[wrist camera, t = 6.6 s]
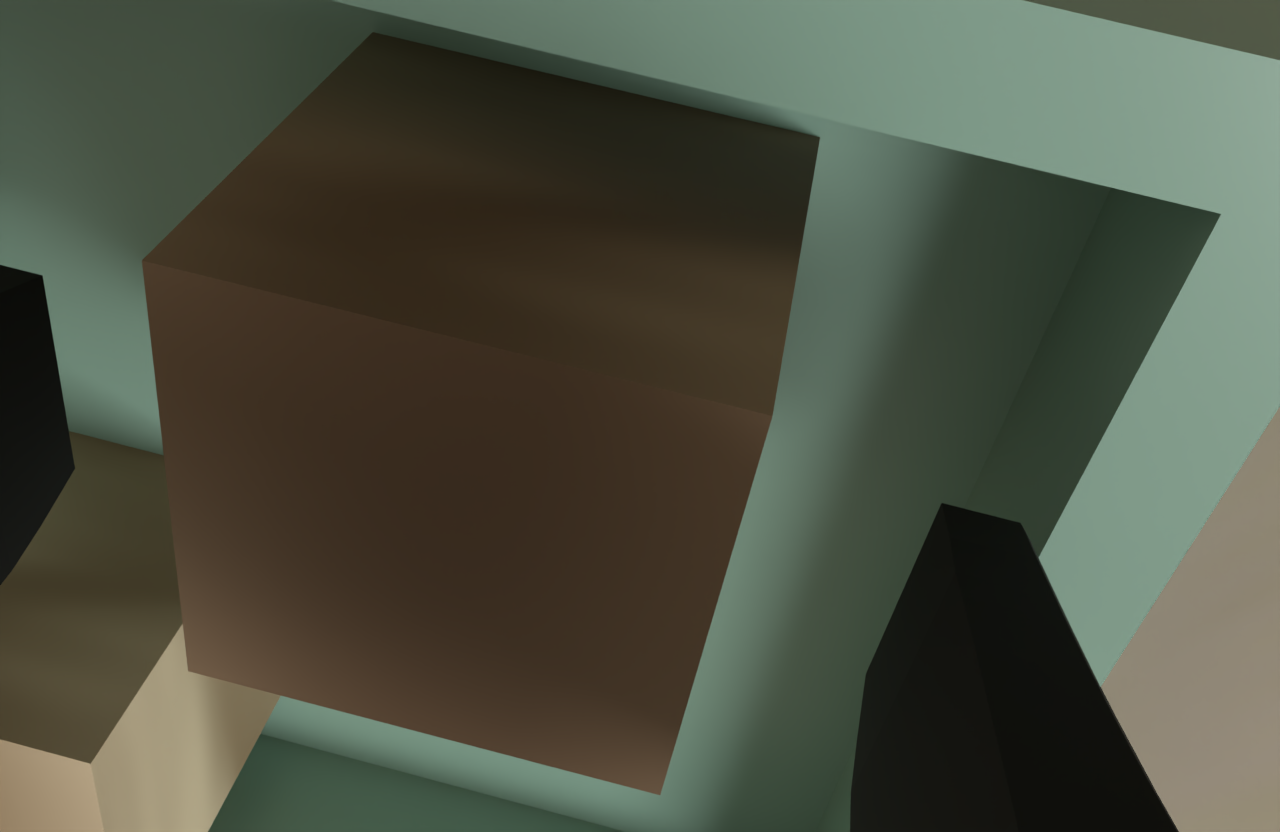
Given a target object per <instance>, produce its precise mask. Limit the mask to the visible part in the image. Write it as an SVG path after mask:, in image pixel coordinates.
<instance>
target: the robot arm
mask: <svg viewBox="0 0 1280 832" xmlns="http://www.w3.org/2000/svg"><path fill="white" fill-rule="evenodd" d="M74 470H75V465H74V459H73V453H72V447H71V441H70V435H69V429H68V423H67V417H66V411H65V406H64V400H63V394H62V388H61V382H60V376H59V370H58V364H57V358H56V352H55V346H54V340H53V334H52V328H51V322H50V316H49V310H48V304H47V299H46V293H45V287H44V281H43V275H39V274H35V273H31V272H27V271H23V270H19V269H15V268H11V267H7V266H3V265H0V585H1V584H2V583H3V581H4V580H5V579H6V578H7V576H8V575H9V574H10V573H11V571H12V570H13V568H14V567H15V565H16V564H17V562H18V561H19V559H20V558H21V556H22V555H23V553H24V551H25V550H26V548H27V547H28V545H29V544H30V542H31V541H32V539H33V538H34V536H35V534H36V533H37V531H38V530H39V528H40V527H41V525H42V524H43V522H44V520H45V518H46V517H47V515H48V513H49V512H50V510H51V508H52V507H53V505H54V503H55V502H56V500H57V498H58V497H59V495H60V493H61V492H62V490H63V488H64V486H65V485H66V483H67V481H68V480H69V478H70V476H71V475H72V473H73V471H74ZM850 832H1179V831H1178V830H1177V828H1176V826H1175V824H1174V823H1173V821H1172V819H1171V817H1170V816H1169V814H1168V812H1167V810H1166V809H1165V807H1164V805H1163V803H1162V801H1161V800H1160V798H1159V796H1158V794H1157V793H1156V791H1155V789H1154V787H1153V785H1152V783H1151V781H1150V780H1149V778H1148V776H1147V774H1146V772H1145V770H1144V768H1143V767H1142V765H1141V763H1140V761H1139V759H1138V757H1137V755H1136V753H1135V752H1134V750H1133V748H1132V746H1131V744H1130V742H1129V740H1128V739H1127V737H1126V735H1125V733H1124V731H1123V729H1122V727H1121V725H1120V724H1119V722H1118V720H1117V718H1116V716H1115V714H1114V712H1113V710H1112V708H1111V706H1110V705H1109V703H1108V701H1107V699H1106V697H1105V695H1104V693H1103V691H1102V689H1101V687H1100V685H1099V683H1098V681H1097V679H1096V677H1095V675H1094V673H1093V671H1092V669H1091V667H1090V665H1089V663H1088V661H1087V659H1086V657H1085V654H1084V652H1083V650H1082V648H1081V646H1080V644H1079V642H1078V640H1077V638H1076V636H1075V634H1074V632H1073V630H1072V628H1071V626H1070V624H1069V621H1068V619H1067V617H1066V615H1065V613H1064V611H1063V609H1062V607H1061V605H1060V603H1059V600H1058V598H1057V596H1056V594H1055V592H1054V590H1053V588H1052V586H1051V583H1050V581H1049V579H1048V577H1047V575H1046V573H1045V571H1044V568H1043V566H1042V564H1041V562H1040V560H1039V558H1038V556H1037V554H1036V551H1035V549H1034V547H1033V545H1032V543H1031V541H1030V539H1029V537H1028V535H1027V533H1026V531H1025V530H1024V528H1023V526H1022V524H1021V523H1019V522H1016V521H1012V520H1008V519H1004V518H1000V517H996V516H992V515H988V514H984V513H980V512H976V511H972V510H968V509H964V508H960V507H956V506H952V505H948V504H944V503H941V505H940V507H939V510H938V512H937V514H936V516H935V519H934V521H933V523H932V525H931V528H930V530H929V532H928V535H927V537H926V539H925V541H924V544H923V546H922V548H921V550H920V553H919V555H918V557H917V559H916V562H915V564H914V566H913V568H912V571H911V573H910V575H909V577H908V580H907V582H906V584H905V587H904V589H903V591H902V593H901V596H900V598H899V600H898V602H897V605H896V607H895V609H894V611H893V614H892V616H891V618H890V620H889V623H888V625H887V627H886V629H885V632H884V634H883V636H882V639H881V641H880V643H879V645H878V648H877V650H876V652H875V654H874V657H873V659H872V661H871V663H870V666H869V668H868V670H867V672H866V676H865V683H864V691H863V698H862V706H861V713H860V721H859V728H858V735H857V743H856V752H855V760H854V769H853V777H852V786H851V804H850Z"/></svg>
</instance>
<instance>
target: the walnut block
mask: <svg viewBox="0 0 1280 832" xmlns="http://www.w3.org/2000/svg"><path fill="white" fill-rule="evenodd" d="M819 141H820V137H817V136H813V135H809V134H805V133H800V132H796V131H792V130H788V129H783V128H779V127H775V126H771V125H766V124H762V123H758V122H754V121H749V120H745V119H741V118H737V117H732V116H728V115H724V114H720V113H715V112H711V111H707V110H703V109H698V108H694V107H690V106H686V105H681V104H677V103H673V102H669V101H664V100H660V99H656V98H651V97H647V96H643V95H639V94H634V93H630V92H626V91H622V90H617V89H613V88H609V87H605V86H600V85H596V84H592V83H588V82H583V81H579V80H575V79H571V78H566V77H562V76H558V75H554V74H549V73H545V72H541V71H537V70H532V69H528V68H524V67H520V66H515V65H511V64H507V63H503V62H498V61H494V60H490V59H486V58H481V57H477V56H473V55H468V54H464V53H460V52H456V51H451V50H447V49H443V48H439V47H434V46H430V45H426V44H422V43H417V42H413V41H409V40H405V39H400V38H396V37H392V36H388V35H383V34H379V33H375V32H372V33H371V34H370V35H369V36H368V37H367V38H366V39H365V40H364V41H363V42H362V43H361V44H360V45H359V46H358V47H357V48H356V49H355V50H354V51H353V52H352V53H351V54H350V55H349V56H348V57H347V58H346V59H345V60H344V61H343V62H342V63H341V64H340V65H339V66H338V67H337V68H336V69H335V70H334V71H333V72H332V73H331V74H330V75H329V76H328V77H327V78H326V79H325V80H324V81H323V82H322V83H321V84H320V85H319V86H318V87H317V88H316V89H315V90H314V91H313V92H312V93H311V94H310V95H308V96H307V97H306V98H305V99H304V100H303V101H302V102H301V103H300V104H299V105H298V106H297V107H296V108H295V109H294V110H293V111H292V112H291V113H290V114H289V115H288V116H287V117H286V118H285V119H284V120H283V121H282V122H281V123H280V124H279V125H278V126H277V127H276V128H275V129H274V130H273V131H272V132H271V133H270V134H269V135H268V136H267V137H266V138H265V139H264V140H263V141H262V142H261V143H260V144H259V145H258V146H257V147H256V148H255V149H254V150H253V151H252V152H251V153H250V154H249V155H248V156H247V157H246V158H245V159H244V160H243V161H242V162H241V163H240V164H239V165H238V166H237V167H236V168H235V169H234V170H233V171H232V172H231V173H230V174H229V175H228V176H227V177H226V178H225V179H224V180H223V181H222V182H221V183H220V184H219V185H217V186H216V187H215V188H214V189H213V190H212V191H211V192H210V193H209V194H208V195H207V196H206V197H205V198H204V199H203V200H202V201H201V202H200V203H199V204H198V205H197V206H196V207H195V208H194V209H193V210H192V211H191V212H190V213H189V214H188V215H187V216H186V217H185V218H184V219H183V220H182V221H181V222H180V223H179V224H178V225H177V226H176V227H175V228H174V229H173V230H172V231H171V232H170V233H169V234H168V235H167V236H166V237H165V238H164V239H163V240H162V241H161V242H160V243H159V244H158V245H157V246H156V247H155V248H154V249H153V250H152V251H151V252H150V253H149V254H148V255H147V256H146V257H145V258H144V259H143V260H142V268H143V276H144V285H145V294H146V303H147V312H148V321H149V330H150V338H151V347H152V356H153V365H154V374H155V383H156V392H157V400H158V409H159V418H160V427H161V436H162V445H163V454H164V462H165V471H166V480H167V489H168V498H169V507H170V516H171V524H172V533H173V542H174V551H175V560H176V569H177V578H178V586H179V595H180V604H181V613H182V622H183V631H184V640H185V648H186V657H187V666H188V671H189V672H193V673H197V674H200V675H204V676H208V677H212V678H216V679H219V680H223V681H227V682H231V683H235V684H238V685H242V686H246V687H250V688H254V689H257V690H261V691H265V692H269V693H273V694H276V695H280V696H284V697H288V698H292V699H295V700H299V701H303V702H307V703H311V704H314V705H318V706H322V707H326V708H330V709H333V710H337V711H341V712H345V713H349V714H353V715H356V716H360V717H364V718H368V719H372V720H375V721H379V722H383V723H387V724H391V725H394V726H398V727H402V728H406V729H410V730H413V731H417V732H421V733H425V734H429V735H432V736H436V737H440V738H444V739H448V740H451V741H455V742H459V743H463V744H467V745H470V746H474V747H478V748H482V749H486V750H489V751H493V752H497V753H501V754H505V755H508V756H512V757H516V758H520V759H524V760H527V761H531V762H535V763H539V764H543V765H546V766H550V767H554V768H558V769H562V770H565V771H569V772H573V773H577V774H581V775H584V776H588V777H592V778H596V779H600V780H603V781H607V782H611V783H615V784H619V785H622V786H626V787H630V788H634V789H638V790H641V791H645V792H649V793H653V794H657V795H661V791H662V788H663V784H664V781H665V778H666V774H667V771H668V768H669V764H670V761H671V757H672V754H673V751H674V747H675V744H676V740H677V737H678V734H679V730H680V727H681V724H682V720H683V717H684V713H685V710H686V707H687V703H688V700H689V697H690V693H691V690H692V686H693V683H694V680H695V676H696V673H697V670H698V666H699V663H700V659H701V656H702V653H703V649H704V646H705V643H706V639H707V636H708V632H709V629H710V626H711V622H712V619H713V616H714V612H715V609H716V605H717V602H718V599H719V595H720V592H721V589H722V585H723V582H724V578H725V575H726V572H727V568H728V565H729V561H730V558H731V555H732V551H733V548H734V545H735V541H736V538H737V534H738V531H739V528H740V524H741V521H742V518H743V514H744V511H745V507H746V504H747V501H748V497H749V494H750V491H751V487H752V484H753V480H754V477H755V474H756V470H757V467H758V464H759V460H760V457H761V453H762V450H763V447H764V443H765V440H766V437H767V433H768V430H769V426H770V423H771V420H772V416H773V411H774V405H775V399H776V393H777V387H778V381H779V375H780V370H781V364H782V358H783V352H784V346H785V340H786V335H787V329H788V323H789V317H790V311H791V305H792V299H793V294H794V288H795V282H796V276H797V270H798V264H799V258H800V253H801V247H802V241H803V235H804V229H805V223H806V218H807V212H808V206H809V200H810V194H811V188H812V182H813V177H814V171H815V165H816V159H817V153H818V147H819Z"/></svg>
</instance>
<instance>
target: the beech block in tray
mask: <svg viewBox="0 0 1280 832" xmlns="http://www.w3.org/2000/svg"><path fill="white" fill-rule="evenodd" d="M69 435H70V441H71V447H72V453H73V459H74V465H75V470H74V471H73V473H72V475H71V476H70V478H69V480H68V481H67V483H66V485H65V486H64V488H63V490H62V492H61V493H60V495H59V497H58V498H57V500H56V502H55V503H54V505H53V507H52V508H51V510H50V512H49V513H48V515H47V517H46V518H45V520H44V522H43V524H42V525H41V527H40V528H39V530H38V531H37V533H36V534H35V536H34V538H33V539H32V541H31V542H30V544H29V545H28V547H27V548H26V550H25V551H24V553H23V555H22V556H21V558H20V559H19V561H18V562H17V564H16V565H15V567H14V568H13V570H12V571H11V573H10V574H9V575H8V576H7V578H6V579H5V580H4V581H3V583H2V584H1V585H0V832H208V831H209V829H210V827H211V825H212V823H213V821H214V820H215V818H216V816H217V814H218V812H219V810H220V808H221V806H222V805H223V803H224V801H225V799H226V797H227V795H228V793H229V791H230V790H231V788H232V786H233V784H234V782H235V780H236V778H237V777H238V775H239V773H240V771H241V769H242V767H243V765H244V763H245V762H246V760H247V758H248V756H249V754H250V752H251V750H252V749H253V747H254V745H255V743H256V741H257V739H258V737H259V735H260V734H261V732H262V730H263V728H264V726H265V724H266V722H267V721H268V719H269V717H270V715H271V713H272V711H273V709H274V707H275V706H276V704H277V702H278V700H279V698H280V695H276V694H273V693H269V692H265V691H261V690H257V689H254V688H250V687H246V686H242V685H238V684H235V683H231V682H227V681H223V680H219V679H216V678H212V677H208V676H204V675H200V674H197V673H193V672H189V671H188V666H187V657H186V648H185V640H184V631H183V622H182V613H181V604H180V595H179V586H178V578H177V569H176V560H175V551H174V542H173V533H172V524H171V516H170V507H169V498H168V489H167V480H166V471H165V462H164V455H160V454H156V453H152V452H148V451H145V450H141V449H137V448H133V447H129V446H125V445H121V444H118V443H114V442H110V441H106V440H102V439H98V438H94V437H90V436H87V435H83V434H79V433H75V432H71V431H69Z"/></svg>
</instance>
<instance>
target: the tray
mask: <svg viewBox="0 0 1280 832" xmlns="http://www.w3.org/2000/svg"><path fill="white" fill-rule="evenodd" d="M372 32H375V33H379V34H383V35H388V36H392V37H396V38H400V39H405V40H409V41H413V42H417V43H422V44H426V45H430V46H434V47H439V48H443V49H447V50H451V51H456V52H460V53H464V54H468V55H473V56H477V57H481V58H486V59H490V60H494V61H498V62H503V63H507V64H511V65H515V66H520V67H524V68H528V69H532V70H537V71H541V72H545V73H549V74H554V75H558V76H562V77H566V78H571V79H575V80H579V81H583V82H588V83H592V84H596V85H600V86H605V87H609V88H613V89H617V90H622V91H626V92H630V93H634V94H639V95H643V96H647V97H651V98H656V99H660V100H664V101H669V102H673V103H677V104H681V105H686V106H690V107H694V108H698V109H703V110H707V111H711V112H715V113H720V114H724V115H728V116H732V117H737V118H741V119H745V120H749V121H754V122H758V123H762V124H766V125H771V126H775V127H779V128H783V129H788V130H792V131H796V132H800V133H805V134H809V135H813V136H817V137H820V141H819V147H818V153H817V159H816V165H815V171H814V177H813V182H812V188H811V194H810V200H809V206H808V212H807V218H806V223H805V229H804V235H803V241H802V247H801V253H800V258H799V264H798V270H797V276H796V282H795V288H794V294H793V299H792V305H791V311H790V317H789V323H788V329H787V335H786V340H785V346H784V352H783V358H782V364H781V370H780V375H779V381H778V387H777V393H776V399H775V405H774V411H773V416H772V420H771V423H770V426H769V430H768V433H767V437H766V440H765V443H764V447H763V450H762V453H761V457H760V460H759V464H758V467H757V470H756V474H755V477H754V480H753V484H752V487H751V491H750V494H749V497H748V501H747V504H746V507H745V511H744V514H743V518H742V521H741V524H740V528H739V531H738V534H737V538H736V541H735V545H734V548H733V551H732V555H731V558H730V561H729V565H728V568H727V572H726V575H725V578H724V582H723V585H722V589H721V592H720V595H719V599H718V602H717V605H716V609H715V612H714V616H713V619H712V622H711V626H710V629H709V632H708V636H707V639H706V643H705V646H704V649H703V653H702V656H701V659H700V663H699V666H698V670H697V673H696V676H695V680H694V683H693V686H692V690H691V693H690V697H689V700H688V703H687V707H686V710H685V713H684V717H683V720H682V724H681V727H680V730H679V734H678V737H677V740H676V744H675V747H674V751H673V754H672V757H671V761H670V764H669V768H668V771H667V774H666V778H665V781H664V784H663V788H662V791H661V795H657V794H653V793H649V792H645V791H641V790H638V789H634V788H630V787H626V786H622V785H619V784H615V783H611V782H607V781H603V780H600V779H596V778H592V777H588V776H584V775H581V774H577V773H573V772H569V771H565V770H562V769H558V768H554V767H550V766H546V765H543V764H539V763H535V762H531V761H527V760H524V759H520V758H516V757H512V756H508V755H505V754H501V753H497V752H493V751H489V750H486V749H482V748H478V747H474V746H470V745H467V744H463V743H459V742H455V741H451V740H448V739H444V738H440V737H436V736H432V735H429V734H425V733H421V732H417V731H413V730H410V729H406V728H402V727H398V726H394V725H391V724H387V723H383V722H379V721H375V720H372V719H368V718H364V717H360V716H356V715H353V714H349V713H345V712H341V711H337V710H333V709H330V708H326V707H322V706H318V705H314V704H311V703H307V702H303V701H299V700H295V699H292V698H288V697H284V696H280V698H279V700H278V702H277V704H276V706H275V707H274V709H273V711H272V713H271V715H270V717H269V719H268V721H267V722H266V724H265V726H264V728H263V730H262V732H261V734H260V735H259V737H258V739H257V741H256V743H255V745H254V747H253V749H252V750H251V752H250V754H249V756H248V758H247V760H246V762H245V763H244V765H243V767H242V769H241V771H240V773H239V775H238V777H237V778H236V780H235V782H234V784H233V786H232V788H231V790H230V791H229V793H228V795H227V797H226V799H225V801H224V803H223V805H222V806H221V808H220V810H219V812H218V814H217V816H216V818H215V820H214V821H213V823H212V825H211V827H210V829H209V831H208V832H850V804H851V786H852V777H853V769H854V760H855V752H856V743H857V735H858V728H859V721H860V713H861V706H862V698H863V691H864V683H865V676H866V672H867V670H868V668H869V666H870V663H871V661H872V659H873V657H874V654H875V652H876V650H877V648H878V645H879V643H880V641H881V639H882V636H883V634H884V632H885V629H886V627H887V625H888V623H889V620H890V618H891V616H892V614H893V611H894V609H895V607H896V605H897V602H898V600H899V598H900V596H901V593H902V591H903V589H904V587H905V584H906V582H907V580H908V577H909V575H910V573H911V571H912V568H913V566H914V564H915V562H916V559H917V557H918V555H919V553H920V550H921V548H922V546H923V544H924V541H925V539H926V537H927V535H928V532H929V530H930V528H931V525H932V523H933V521H934V519H935V516H936V514H937V512H938V510H939V507H940V505H941V503H944V504H948V505H952V506H956V507H960V508H964V509H968V510H972V511H976V512H980V513H984V514H988V515H992V516H996V517H1000V518H1004V519H1008V520H1012V521H1016V522H1019V523H1021V524H1022V526H1023V528H1024V530H1025V531H1026V533H1027V535H1028V537H1029V539H1030V541H1031V543H1032V545H1033V547H1034V549H1035V551H1036V554H1037V556H1038V558H1039V560H1040V562H1041V564H1042V566H1043V568H1044V571H1045V573H1046V575H1047V577H1048V579H1049V581H1050V583H1051V586H1052V588H1053V590H1054V592H1055V594H1056V596H1057V598H1058V600H1059V603H1060V605H1061V607H1062V609H1063V611H1064V613H1065V615H1066V617H1067V619H1068V621H1069V624H1070V626H1071V628H1072V630H1073V632H1074V634H1075V636H1076V638H1077V640H1078V642H1079V644H1080V646H1081V648H1082V650H1083V652H1084V654H1085V657H1086V659H1087V661H1088V663H1089V665H1090V667H1091V669H1092V671H1093V673H1094V675H1095V677H1096V679H1097V681H1098V683H1099V685H1100V687H1101V685H1102V684H1103V682H1104V681H1105V679H1106V678H1107V676H1108V674H1109V673H1110V671H1111V670H1112V668H1113V667H1114V665H1115V664H1116V662H1117V660H1118V659H1119V657H1120V656H1121V654H1122V653H1123V651H1124V649H1125V648H1126V646H1127V645H1128V643H1129V642H1130V640H1131V638H1132V637H1133V635H1134V634H1135V632H1136V631H1137V629H1138V627H1139V626H1140V624H1141V623H1142V621H1143V620H1144V618H1145V617H1146V615H1147V613H1148V612H1149V610H1150V609H1151V607H1152V606H1153V604H1154V602H1155V601H1156V599H1157V598H1158V596H1159V595H1160V593H1161V591H1162V590H1163V588H1164V587H1165V585H1166V584H1167V582H1168V580H1169V579H1170V577H1171V576H1172V574H1173V573H1174V571H1175V570H1176V568H1177V566H1178V565H1179V563H1180V562H1181V560H1182V559H1183V557H1184V555H1185V554H1186V552H1187V551H1188V549H1189V548H1190V546H1191V544H1192V543H1193V541H1194V540H1195V538H1196V537H1197V535H1198V534H1199V532H1200V530H1201V529H1202V527H1203V526H1204V524H1205V523H1206V521H1207V519H1208V518H1209V516H1210V515H1211V513H1212V512H1213V510H1214V508H1215V507H1216V505H1217V504H1218V502H1219V501H1220V499H1221V497H1222V496H1223V494H1224V493H1225V491H1226V490H1227V488H1228V487H1229V485H1230V483H1231V482H1232V480H1233V479H1234V477H1235V476H1236V474H1237V472H1238V471H1239V469H1240V468H1241V466H1242V465H1243V463H1244V461H1245V460H1246V458H1247V457H1248V455H1249V454H1250V452H1251V451H1252V449H1253V447H1254V446H1255V444H1256V443H1257V441H1258V440H1259V438H1260V436H1261V435H1262V433H1263V432H1264V430H1265V429H1266V427H1267V425H1268V424H1269V422H1270V421H1271V419H1272V418H1273V416H1274V414H1275V413H1276V411H1277V410H1278V408H1279V407H1280V0H0V265H3V266H7V267H11V268H15V269H19V270H23V271H27V272H31V273H35V274H39V275H43V281H44V287H45V293H46V299H47V304H48V310H49V316H50V322H51V328H52V334H53V340H54V346H55V352H56V358H57V364H58V370H59V376H60V382H61V388H62V394H63V400H64V406H65V411H66V417H67V423H68V429H69V431H71V432H75V433H79V434H83V435H87V436H90V437H94V438H98V439H102V440H106V441H110V442H114V443H118V444H121V445H125V446H129V447H133V448H137V449H141V450H145V451H148V452H152V453H156V454H160V455H164V454H163V445H162V436H161V427H160V418H159V409H158V400H157V392H156V383H155V374H154V365H153V356H152V347H151V338H150V330H149V321H148V312H147V303H146V294H145V285H144V276H143V268H142V260H143V259H144V258H145V257H146V256H147V255H148V254H149V253H150V252H151V251H152V250H153V249H154V248H155V247H156V246H157V245H158V244H159V243H160V242H161V241H162V240H163V239H164V238H165V237H166V236H167V235H168V234H169V233H170V232H171V231H172V230H173V229H174V228H175V227H176V226H177V225H178V224H179V223H180V222H181V221H182V220H183V219H184V218H185V217H186V216H187V215H188V214H189V213H190V212H191V211H192V210H193V209H194V208H195V207H196V206H197V205H198V204H199V203H200V202H201V201H202V200H203V199H204V198H205V197H206V196H207V195H208V194H209V193H210V192H211V191H212V190H213V189H214V188H215V187H216V186H217V185H219V184H220V183H221V182H222V181H223V180H224V179H225V178H226V177H227V176H228V175H229V174H230V173H231V172H232V171H233V170H234V169H235V168H236V167H237V166H238V165H239V164H240V163H241V162H242V161H243V160H244V159H245V158H246V157H247V156H248V155H249V154H250V153H251V152H252V151H253V150H254V149H255V148H256V147H257V146H258V145H259V144H260V143H261V142H262V141H263V140H264V139H265V138H266V137H267V136H268V135H269V134H270V133H271V132H272V131H273V130H274V129H275V128H276V127H277V126H278V125H279V124H280V123H281V122H282V121H283V120H284V119H285V118H286V117H287V116H288V115H289V114H290V113H291V112H292V111H293V110H294V109H295V108H296V107H297V106H298V105H299V104H300V103H301V102H302V101H303V100H304V99H305V98H306V97H307V96H308V95H310V94H311V93H312V92H313V91H314V90H315V89H316V88H317V87H318V86H319V85H320V84H321V83H322V82H323V81H324V80H325V79H326V78H327V77H328V76H329V75H330V74H331V73H332V72H333V71H334V70H335V69H336V68H337V67H338V66H339V65H340V64H341V63H342V62H343V61H344V60H345V59H346V58H347V57H348V56H349V55H350V54H351V53H352V52H353V51H354V50H355V49H356V48H357V47H358V46H359V45H360V44H361V43H362V42H363V41H364V40H365V39H366V38H367V37H368V36H369V35H370V34H371V33H372Z"/></svg>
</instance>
